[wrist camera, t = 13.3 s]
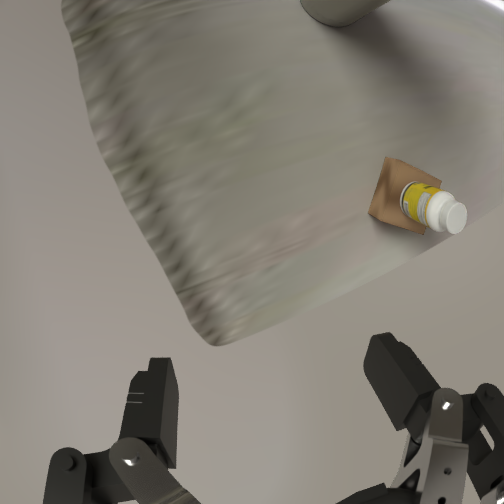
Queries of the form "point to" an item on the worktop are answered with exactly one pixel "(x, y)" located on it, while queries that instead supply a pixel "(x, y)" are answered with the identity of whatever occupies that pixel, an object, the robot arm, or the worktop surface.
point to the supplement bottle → (433, 207)
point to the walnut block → (397, 193)
